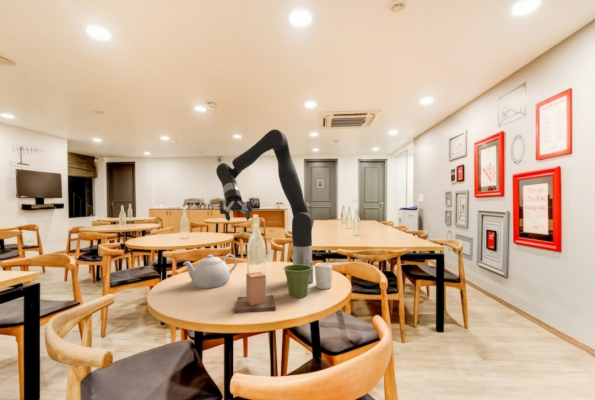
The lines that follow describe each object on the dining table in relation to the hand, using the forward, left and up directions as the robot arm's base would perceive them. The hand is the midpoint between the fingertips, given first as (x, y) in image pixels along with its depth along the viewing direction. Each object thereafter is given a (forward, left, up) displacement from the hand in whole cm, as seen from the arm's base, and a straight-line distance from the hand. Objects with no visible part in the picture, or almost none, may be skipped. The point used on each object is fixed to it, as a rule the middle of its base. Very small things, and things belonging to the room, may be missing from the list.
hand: (238, 219), depth 114 cm
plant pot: (-25, +11, -31) cm, 41 cm away
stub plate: (-8, +19, -31) cm, 37 cm away
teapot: (+13, -11, -31) cm, 36 cm away
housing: (-8, +19, -29) cm, 36 cm away
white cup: (-38, +3, -31) cm, 49 cm away
